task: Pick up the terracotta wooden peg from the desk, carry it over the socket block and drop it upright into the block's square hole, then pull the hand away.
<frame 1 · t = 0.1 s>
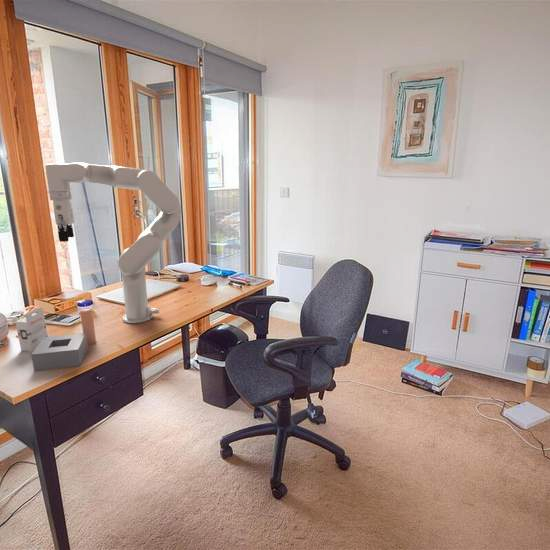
hand: (66, 239, 158), 37 cm above the table, tool pointing down, fingers open, 9 cm apart
peg: (90, 342, 151), on the table
socket block: (62, 358, 138), on the table
ink box: (35, 347, 147), on the table
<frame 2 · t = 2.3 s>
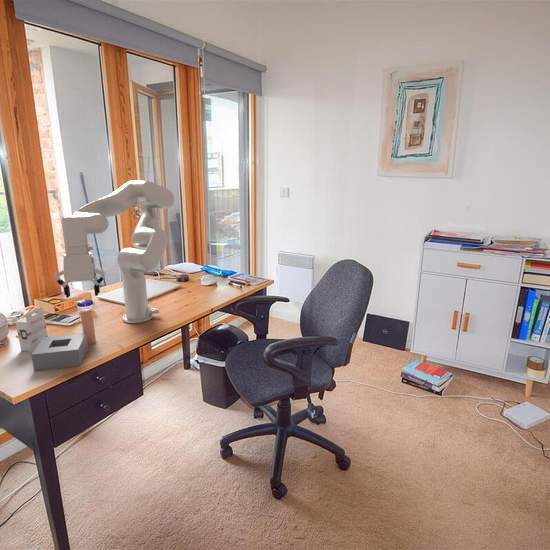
hand: (82, 295, 145), 19 cm above the table, tool pointing down, fingers open, 9 cm apart
nothing on the table moved.
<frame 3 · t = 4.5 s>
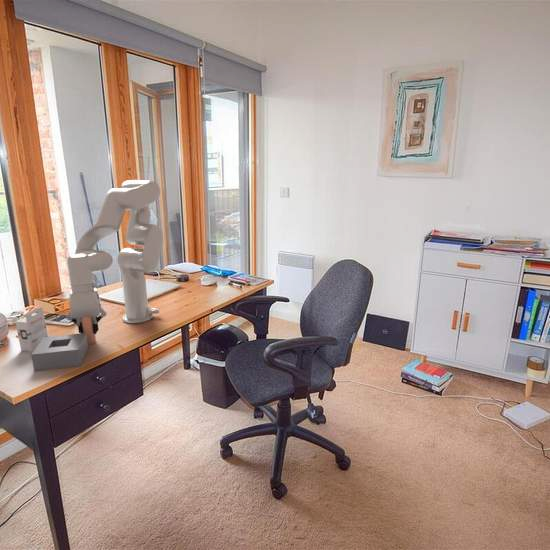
hand: (89, 333, 149), 4 cm above the table, tool pointing down, fingers closed on peg, 4 cm apart
peg: (90, 342, 151), on the table, touching gripper
everything else where it was.
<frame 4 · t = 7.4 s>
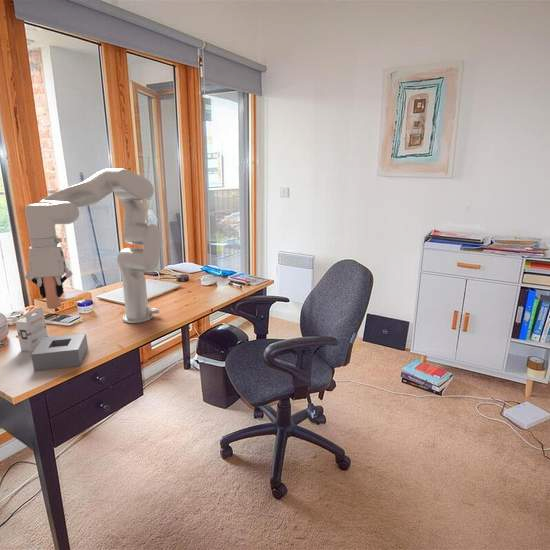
hand: (52, 295, 131), 23 cm above the table, tool pointing down, fingers closed on peg, 4 cm apart
peg: (54, 306, 132), point 19 cm above the table, touching gripper
everything else where it was.
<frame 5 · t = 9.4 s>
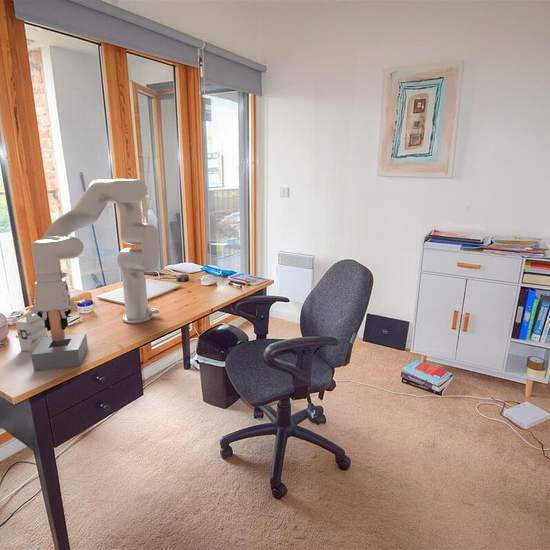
hand: (57, 328, 134), 12 cm above the table, tool pointing down, fingers closed on peg, 4 cm apart
peg: (58, 338, 135), point 8 cm above the table, touching gripper
everything else where it was.
when the fingers open (7 cm above the table, at t = 10.7 s): peg drops 3 cm, resting in socket block.
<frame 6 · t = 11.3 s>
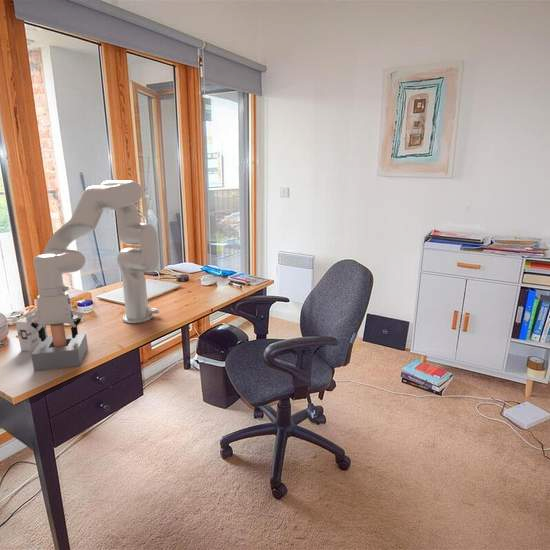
hand: (59, 338, 136), 8 cm above the table, tool pointing down, fingers open, 9 cm apart
peg: (62, 358, 138), resting in socket block
everything else where it was.
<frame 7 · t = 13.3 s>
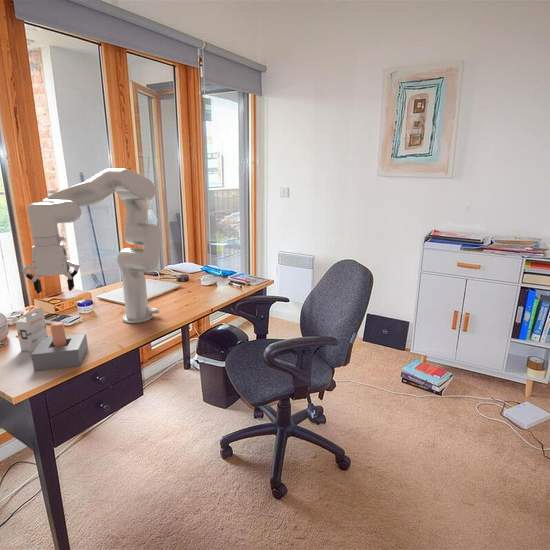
hand: (55, 290, 133), 24 cm above the table, tool pointing down, fingers open, 9 cm apart
nothing on the table moved.
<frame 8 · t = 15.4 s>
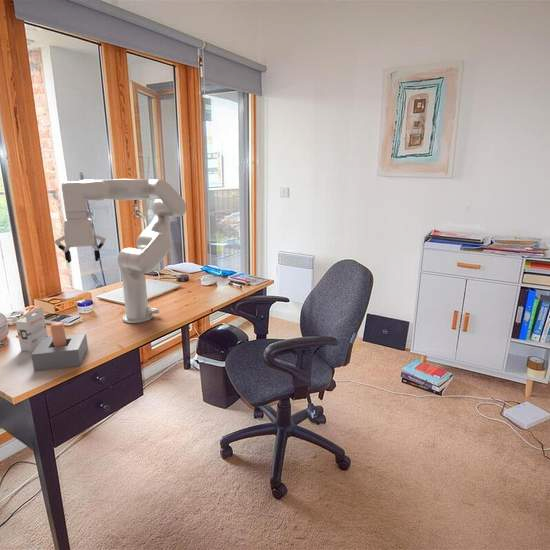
hand: (83, 261, 149), 30 cm above the table, tool pointing down, fingers open, 9 cm apart
nothing on the table moved.
at the end: peg 0.0 cm off-centre on the socket block, point 0.0 cm above the socket block's base; peg tilted 0°; the gripper is holding nothing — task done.
